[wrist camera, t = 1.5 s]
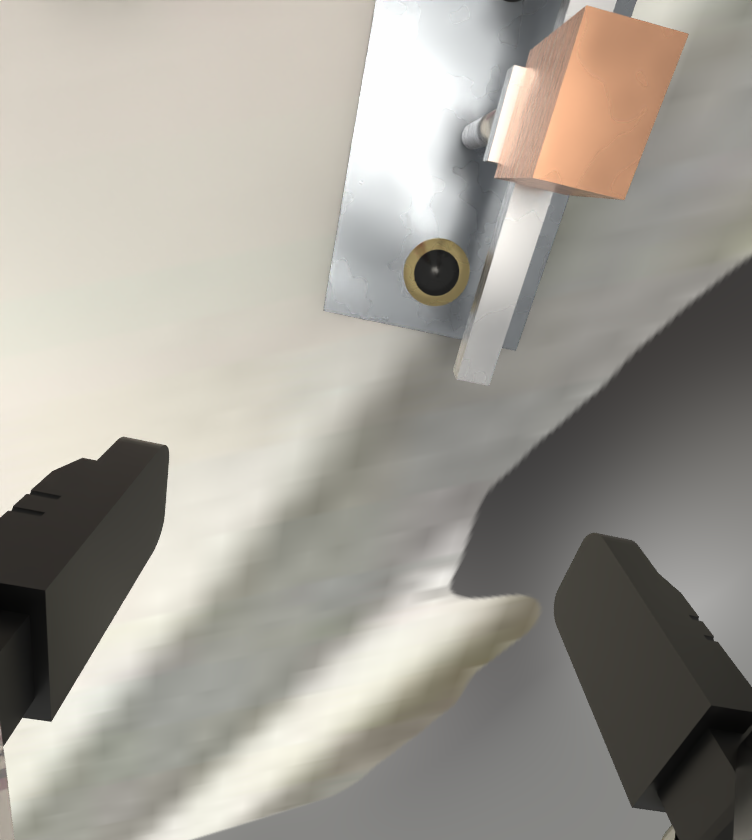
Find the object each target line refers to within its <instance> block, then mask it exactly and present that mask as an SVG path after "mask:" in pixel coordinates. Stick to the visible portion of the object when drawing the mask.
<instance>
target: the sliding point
mask: <svg viewBox="0 0 752 840" xmlns="http://www.w3.org/2000/svg"><path fill="white" fill-rule="evenodd" d="M687 37H688V34H687V33H684V32H680V31H677V30H673V29H670V28H666V27H662V26H659V25H655V24H652V23H648V22H645V21H641V20H638V19H634V18H631V17H627V16H623V15H620V14H616V13H613V12H609V11H606V10H602V9H599V8H595V7H592V6H588V5H586V6H585V7H583V8H582V9H581V10H580V11H579V12H577V13H576V14H575V15H574V16H572V17H571V18H570V19H569V20H567V21H566V22H565V23H564V24H562V25H561V26H560V27H559V28H557V29H556V30H555V31H554V32H552V33H551V34H550V35H549V36H547V37H546V38H545V39H544V40H542V41H541V42H540V43H539V44H538V45H536V46H535V47H534V48H533V49H531V50H530V53H529V56H528V60H527V63H526V67H525V68H524V67H521V66H517V65H513V66H512V67H511V68H509V69H508V70H507V73H506V76H505V80H504V84H503V87H502V91H501V95H500V99H499V102H498V106H497V109H495V110H493V111H492V112H490V113H488V114H486V115H484V116H483V117H481V118H479V119H477V120H475V121H474V122H472V123H470V124H468V125H467V126H466V127H465V128H464V130H463V132H462V142H463V144H464V146H465V147H467V148H468V149H471V150H474V149H478V148H481V147H485V146H487V147H486V150H485V154H484V158H483V162H487V163H491V164H495V165H498V166H497V169H496V173H495V176H494V178H497V179H501V180H505V181H509V182H513V183H518V184H522V185H526V186H530V187H534V188H538V189H542V190H547V191H551V192H555V193H559V194H563V195H572V196H584V197H595V198H607V199H619V200H624V199H625V197H626V194H627V192H628V189H629V186H630V184H631V181H632V179H633V176H634V174H635V171H636V168H637V166H638V163H639V161H640V158H641V155H642V153H643V150H644V148H645V145H646V143H647V140H648V137H649V135H650V132H651V130H652V127H653V125H654V122H655V119H656V117H657V114H658V112H659V109H660V107H661V104H662V101H663V99H664V96H665V94H666V91H667V89H668V86H669V83H670V81H671V78H672V76H673V73H674V71H675V68H676V65H677V63H678V60H679V58H680V55H681V53H682V50H683V47H684V45H685V42H686V40H687Z"/></svg>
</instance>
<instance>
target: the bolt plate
mask: <svg viewBox="0 0 752 840" xmlns="http://www.w3.org/2000/svg"><path fill="white" fill-rule="evenodd" d="M636 1H637V0H376V4H375V10H374V16H373V22H372V28H371V33H370V39H369V45H368V51H367V57H366V63H365V69H364V75H363V81H362V87H361V92H360V98H359V104H358V110H357V116H356V122H355V128H354V134H353V140H352V146H351V151H350V157H349V163H348V169H347V175H346V181H345V187H344V193H343V199H342V205H341V210H340V216H339V222H338V228H337V234H336V240H335V246H334V252H333V258H332V264H331V269H330V275H329V281H328V287H327V293H326V299H325V305H324V311H327V312H332V313H337V314H341V315H346V316H351V317H356V318H361V319H366V320H370V321H375V322H380V323H385V324H390V325H394V326H399V327H404V328H409V329H414V330H418V331H423V332H428V333H433V334H438V335H442V336H447V337H452V338H457V339H462V342H461V345H460V348H459V352H458V355H457V359H456V362H455V365H454V369H453V372H454V374H455V377H456V379H458V380H463V381H468V382H473V383H478V384H483V385H488V386H489V385H490V382H491V379H492V376H493V373H494V370H495V367H496V364H497V361H498V358H499V354H500V351H501V348H505V349H510V350H515V351H516V349H517V346H518V343H519V340H520V337H521V335H522V332H523V329H524V326H525V323H526V320H527V317H528V314H529V311H530V308H531V306H532V303H533V300H534V297H535V294H536V291H537V288H538V285H539V282H540V279H541V276H542V274H543V271H544V268H545V265H546V262H547V259H548V256H549V253H550V250H551V247H552V245H553V242H554V239H555V236H556V233H557V230H558V227H559V224H560V221H561V218H562V216H563V213H564V210H565V207H566V204H567V201H568V198H569V195H563V194H559V193H555V192H551V191H547V190H542V189H538V188H534V187H530V186H526V185H522V184H518V183H513V182H509V181H505V180H501V179H497V178H494V176H495V173H496V169H497V166H498V165H495V164H491V163H487V162H483V158H484V154H485V150H486V147H487V146H485V147H481V148H478V149H474V150H471V149H468V148H467V147H465V146H464V144H463V142H462V132H463V130H464V128H465V127H466V126H467V125H468V124H470V123H472V122H474V121H475V120H477V119H479V118H481V117H483V116H484V115H486V114H488V113H490V112H492V111H493V110H495V109H497V106H498V102H499V99H500V95H501V91H502V87H503V84H504V80H505V76H506V73H507V70H508V69H509V68H511V67H512V66H513V65H517V66H521V67H524V68H525V67H526V63H527V60H528V56H529V53H530V50H531V49H533V48H534V47H535V46H536V45H538V44H539V43H540V42H541V41H542V40H544V39H545V38H546V37H547V36H549V35H550V34H551V33H552V32H554V31H555V30H556V29H557V28H559V27H560V26H561V25H562V24H564V23H565V22H566V21H567V20H569V19H570V18H571V17H572V16H574V15H575V14H576V13H577V12H579V11H580V10H581V9H582V8H583V7H585V6H586V5H588V6H592V7H595V8H599V9H602V10H606V11H609V12H613V13H616V14H620V15H623V16H627V17H631V15H632V12H633V10H634V7H635V4H636Z"/></svg>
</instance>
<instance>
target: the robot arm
mask: <svg viewBox="0 0 752 840" xmlns="http://www.w3.org/2000/svg"><path fill="white" fill-rule="evenodd" d="M168 465H169V449H168V447H167V446H166V445H162V444H157V443H152V442H147V441H142V440H137V439H132V438H127V437H121V438H119V439H118V440H117V441H116V442H115V443H114V444H113V445H112V446H111V447H110V448H109V449H108V450H107V451H106V452H105V453H104V454H103V455H102V456H101V457H100V458H99V459H98V460H97V461H96V460H91V459H85V458H81V459H79V460H77V461H74V462H72V463H70V464H68V465H65V466H63V467H61V468H58V469H56V470H54V471H52V472H51V473H50V474H49V475H47V476H46V477H45V478H44V479H43V480H42V481H41V482H40V483H39V484H37V485H36V486H35V487H34V488H33V489H32V490H31V493H30V495H29V494H26V495H25V496H24V497H23V498H22V499H21V500H19V501H18V502H17V503H16V504H15V505H14V506H13V509H12V511H7V512H6V513H5V514H4V515H3V516H2V517H0V840H15V839H14V831H13V822H12V814H11V806H10V797H9V789H8V781H7V772H6V764H5V756H4V750H3V746H4V745H5V743H6V742H7V740H8V739H9V737H10V736H11V734H12V733H13V731H14V729H15V728H16V726H17V725H18V723H19V722H20V720H21V719H22V718H29V719H36V720H43V721H50V722H51V721H52V720H53V718H54V716H55V715H56V713H57V711H58V710H59V708H60V706H61V705H62V703H63V701H64V700H65V698H66V696H67V695H68V693H69V691H70V690H71V688H72V686H73V685H74V683H75V681H76V680H77V678H78V676H79V675H80V673H81V671H82V670H83V668H84V666H85V665H86V663H87V661H88V660H89V658H90V656H91V655H92V653H93V651H94V650H95V648H96V646H97V645H98V643H99V641H100V640H101V638H102V636H103V635H104V633H105V631H106V630H107V628H108V626H109V625H110V623H111V621H112V620H113V618H114V616H115V615H116V613H117V611H118V610H119V608H120V606H121V605H122V603H123V601H124V600H125V598H126V596H127V595H128V593H129V591H130V590H131V588H132V586H133V585H134V583H135V581H136V580H137V578H138V576H139V575H140V573H141V571H142V570H143V568H144V566H145V565H146V563H147V561H148V560H149V558H150V556H151V555H152V553H153V551H154V549H155V547H156V545H157V543H158V540H159V537H160V534H161V531H162V527H163V523H164V516H165V504H166V491H167V478H168ZM554 617H555V622H556V625H557V628H558V630H559V633H560V635H561V637H562V640H563V642H564V645H565V647H566V650H567V652H568V654H569V656H570V659H571V661H572V664H573V666H574V669H575V671H576V674H577V676H578V679H579V681H580V683H581V686H582V688H583V691H584V693H585V695H586V698H587V700H588V703H589V705H590V707H591V710H592V712H593V715H594V717H595V719H596V722H597V724H598V727H599V729H600V732H601V734H602V736H603V739H604V741H605V744H606V746H607V748H608V751H609V753H610V756H611V758H612V760H613V763H614V765H615V768H616V770H617V772H618V775H619V777H620V780H621V782H622V785H623V787H624V789H625V792H626V794H627V797H628V799H629V801H630V804H631V806H632V808H639V809H646V810H653V811H660V812H666V813H667V815H668V817H669V820H670V822H671V824H672V825H671V826H670V827H669V828H668V830H667V831H666V832H665V834H664V836H663V837H662V840H752V687H751V685H750V684H749V683H748V681H747V680H746V679H745V678H744V676H743V675H742V673H741V672H740V671H739V670H738V668H737V667H736V666H735V664H734V663H733V661H732V660H731V659H730V658H729V656H728V655H727V653H726V652H725V651H724V649H723V648H722V647H721V646H720V644H719V643H718V642H715V641H714V640H713V638H714V636H713V635H712V634H711V632H710V631H709V630H708V628H707V627H706V626H705V624H704V623H703V622H702V621H699V620H698V618H699V616H698V615H697V614H696V612H695V611H694V610H693V608H692V607H691V606H690V604H689V603H688V602H687V601H686V599H685V598H684V596H683V595H682V594H681V593H680V592H679V591H678V590H677V589H676V588H675V587H673V586H672V585H671V584H670V583H669V582H668V581H667V580H665V579H664V578H663V577H662V576H661V575H660V574H659V573H658V572H657V571H656V569H655V568H654V567H653V565H652V564H651V563H650V561H649V560H648V558H647V557H646V556H645V554H644V553H643V552H642V550H641V549H640V547H639V546H638V545H637V544H636V543H635V542H634V541H632V540H628V539H623V538H618V537H613V536H608V535H603V534H598V533H591V534H589V535H588V536H586V538H585V539H584V540H583V542H582V544H581V546H580V548H579V549H578V551H577V553H576V555H575V558H574V559H573V561H572V563H571V565H570V567H569V569H568V571H567V573H566V575H565V577H564V579H563V581H562V583H561V585H560V587H559V589H558V591H557V593H556V597H555V602H554Z"/></svg>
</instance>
